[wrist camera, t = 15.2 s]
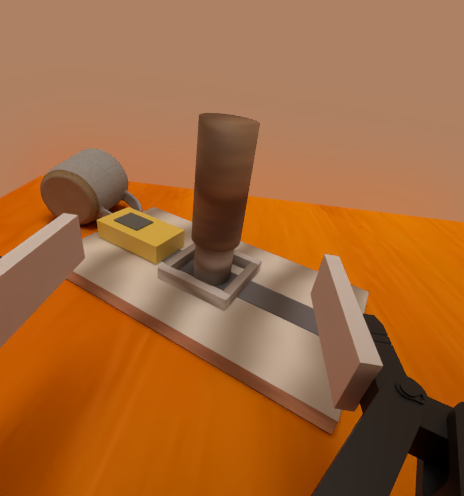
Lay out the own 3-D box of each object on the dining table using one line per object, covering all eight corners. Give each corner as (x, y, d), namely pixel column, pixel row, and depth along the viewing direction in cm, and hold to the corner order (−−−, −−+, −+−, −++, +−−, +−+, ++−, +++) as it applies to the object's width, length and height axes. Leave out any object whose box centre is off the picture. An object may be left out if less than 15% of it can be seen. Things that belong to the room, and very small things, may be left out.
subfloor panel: (363, 302, 30) (373, 282, 29) (331, 434, 19) (344, 411, 17) (154, 217, 40) (153, 198, 39) (47, 267, 28) (41, 244, 27)
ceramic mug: (41, 223, 35) (27, 159, 31) (78, 197, 42) (71, 143, 38) (127, 238, 35) (124, 177, 31) (150, 210, 42) (150, 157, 38)
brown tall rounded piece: (242, 271, 29) (269, 122, 22) (219, 294, 26) (242, 128, 19) (205, 255, 31) (219, 111, 24) (179, 275, 28) (186, 115, 20)
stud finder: (183, 245, 32) (184, 228, 31) (156, 264, 29) (156, 245, 27) (129, 222, 35) (128, 205, 34) (98, 236, 31) (96, 218, 30)
